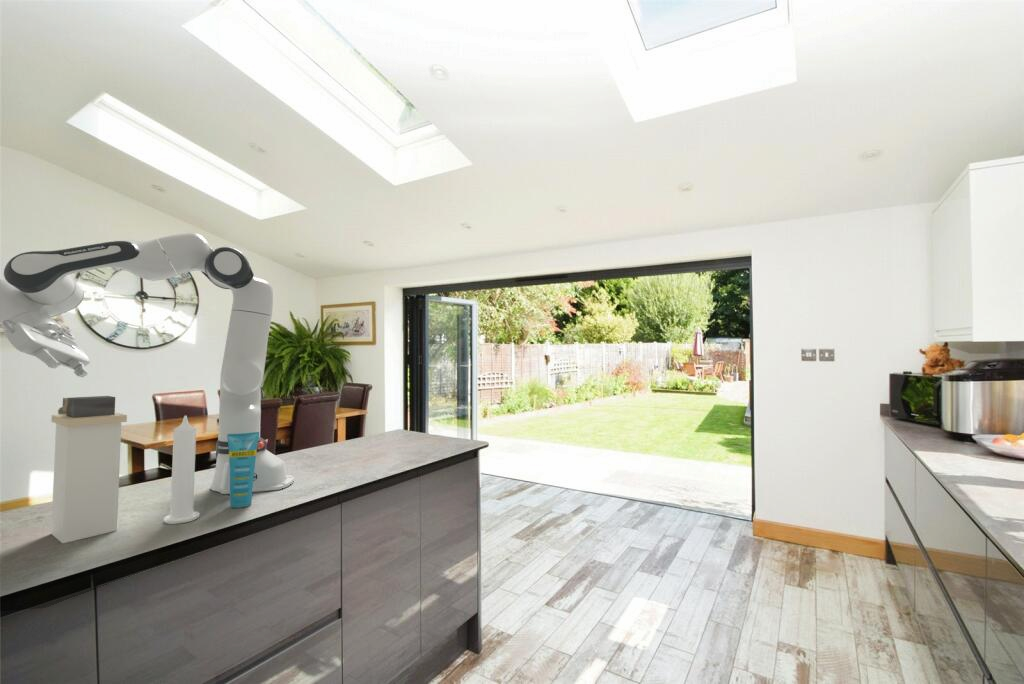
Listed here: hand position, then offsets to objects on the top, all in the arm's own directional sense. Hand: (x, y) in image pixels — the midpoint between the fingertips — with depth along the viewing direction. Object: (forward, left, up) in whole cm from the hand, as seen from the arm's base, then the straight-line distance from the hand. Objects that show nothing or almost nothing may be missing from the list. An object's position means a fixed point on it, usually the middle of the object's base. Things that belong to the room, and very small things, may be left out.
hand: (70, 370), depth 114 cm
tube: (-39, -3, -36) cm, 53 cm away
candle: (-29, +6, -36) cm, 46 cm away
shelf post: (-12, +12, -35) cm, 39 cm away
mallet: (-8, +8, -9) cm, 15 cm away
